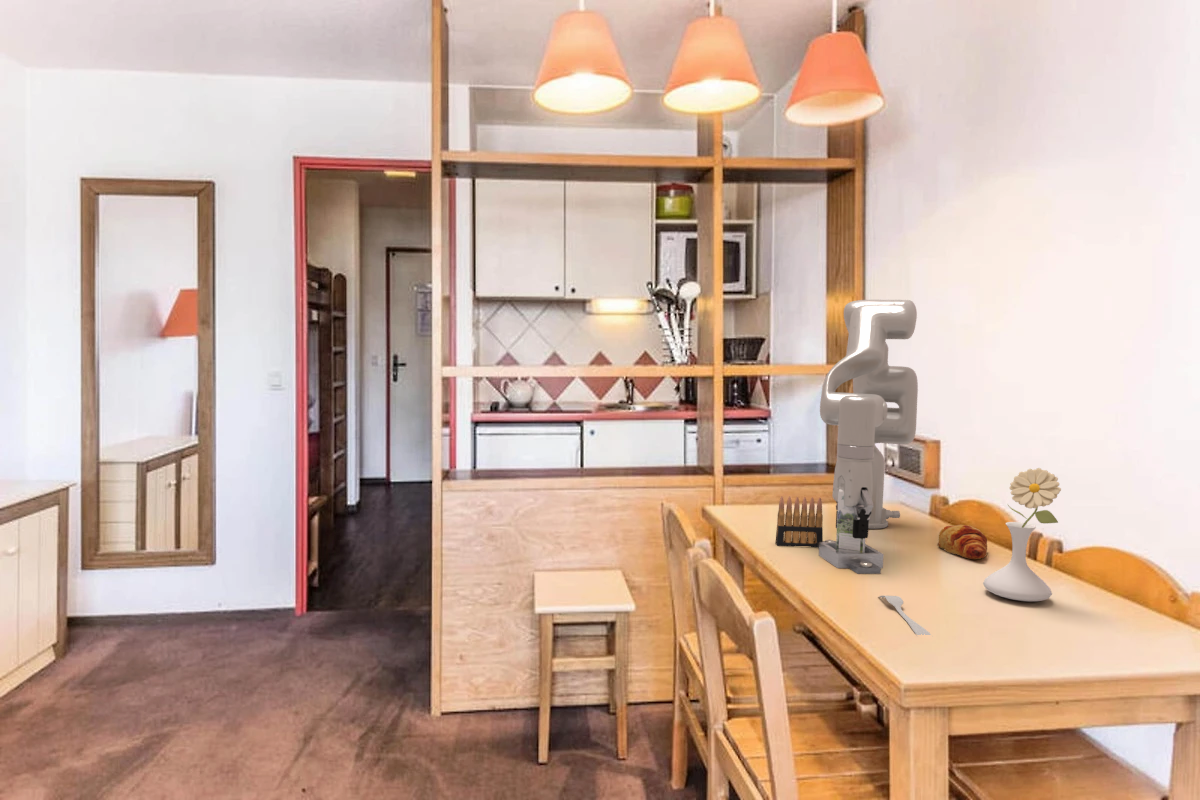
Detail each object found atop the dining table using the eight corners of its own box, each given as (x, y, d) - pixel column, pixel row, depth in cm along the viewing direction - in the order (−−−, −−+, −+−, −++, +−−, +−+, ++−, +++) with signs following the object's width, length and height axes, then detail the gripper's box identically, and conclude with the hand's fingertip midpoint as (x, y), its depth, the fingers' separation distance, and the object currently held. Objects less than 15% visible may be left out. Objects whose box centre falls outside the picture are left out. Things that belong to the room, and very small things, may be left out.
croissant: (933, 553, 185) (919, 524, 185) (971, 536, 184) (957, 507, 184) (967, 577, 164) (951, 544, 164) (1010, 558, 163) (994, 525, 163)
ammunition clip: (820, 547, 176) (823, 496, 176) (822, 549, 174) (825, 498, 174) (775, 545, 177) (777, 495, 176) (776, 547, 175) (778, 496, 174)
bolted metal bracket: (846, 546, 176) (846, 533, 176) (892, 573, 154) (892, 559, 154) (805, 546, 175) (805, 533, 175) (845, 573, 153) (846, 559, 153)
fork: (916, 654, 119) (918, 638, 119) (874, 598, 140) (875, 584, 139) (934, 655, 119) (936, 639, 118) (889, 598, 139) (890, 584, 139)
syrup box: (865, 553, 164) (868, 488, 163) (862, 560, 159) (866, 492, 158) (838, 550, 167) (841, 485, 166) (834, 556, 161) (837, 489, 160)
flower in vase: (968, 590, 144) (976, 462, 143) (1011, 585, 148) (1019, 460, 147) (1030, 613, 132) (1038, 472, 131) (1074, 606, 136) (1083, 470, 135)
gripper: (822, 447, 170) (818, 524, 171) (856, 458, 152) (852, 543, 153) (854, 447, 170) (850, 524, 171) (891, 458, 153) (887, 543, 154)
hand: (851, 532), depth 162 cm, fingers closed on syrup box, 7 cm apart
